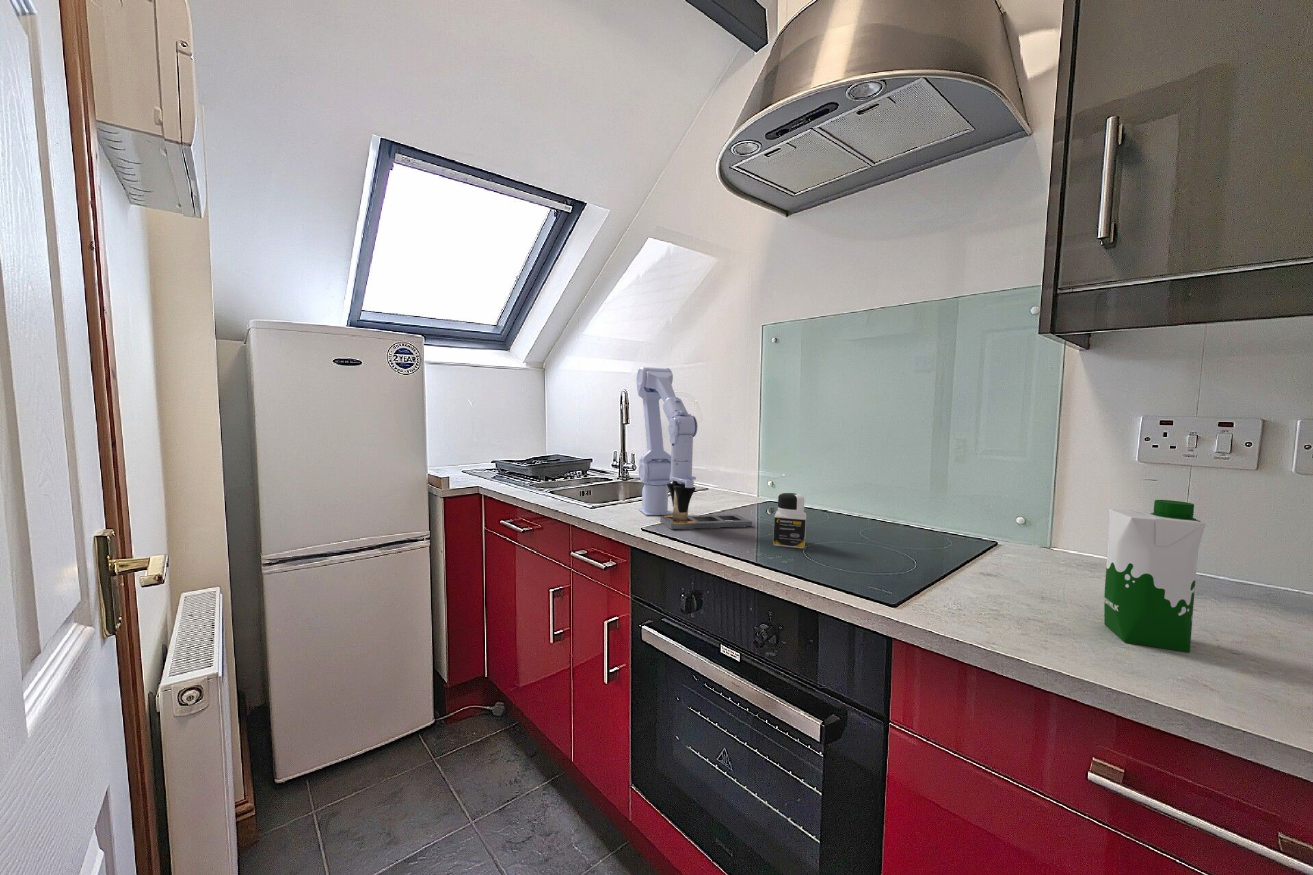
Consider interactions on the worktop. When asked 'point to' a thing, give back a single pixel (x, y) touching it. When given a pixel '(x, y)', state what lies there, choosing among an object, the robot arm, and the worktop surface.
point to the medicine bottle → (790, 521)
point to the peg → (676, 514)
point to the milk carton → (1152, 574)
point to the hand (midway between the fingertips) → (680, 510)
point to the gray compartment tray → (706, 521)
